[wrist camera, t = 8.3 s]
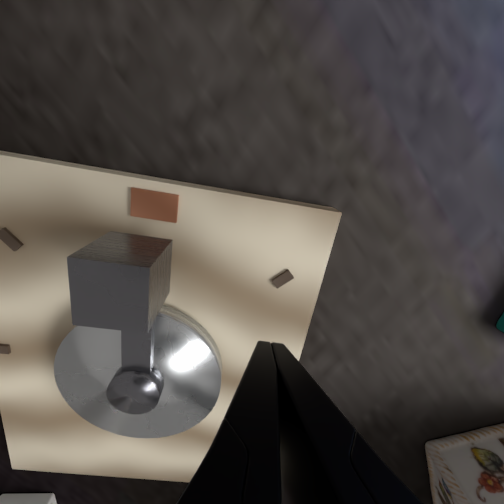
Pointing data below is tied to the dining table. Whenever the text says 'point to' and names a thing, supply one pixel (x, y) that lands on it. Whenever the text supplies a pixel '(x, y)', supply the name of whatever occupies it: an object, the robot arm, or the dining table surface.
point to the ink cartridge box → (28, 498)
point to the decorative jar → (467, 467)
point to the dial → (133, 343)
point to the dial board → (180, 297)
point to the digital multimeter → (501, 323)
